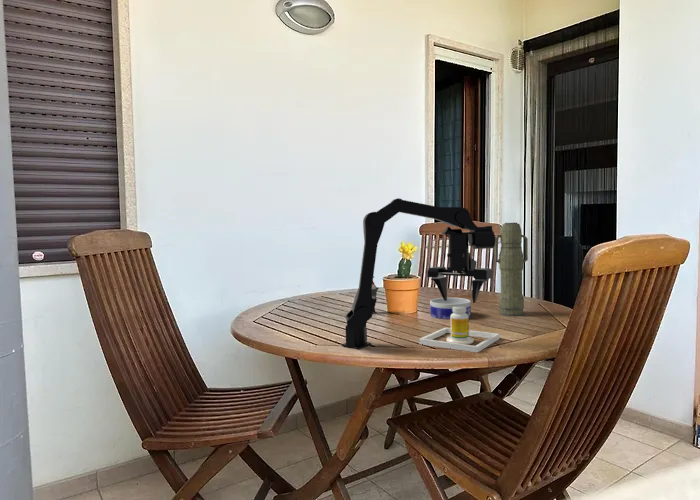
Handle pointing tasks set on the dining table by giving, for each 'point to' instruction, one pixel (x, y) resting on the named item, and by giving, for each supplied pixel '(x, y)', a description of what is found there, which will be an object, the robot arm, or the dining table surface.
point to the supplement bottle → (459, 323)
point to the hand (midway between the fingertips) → (459, 301)
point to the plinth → (468, 341)
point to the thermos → (511, 268)
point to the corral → (429, 341)
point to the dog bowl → (448, 307)
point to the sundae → (374, 291)
